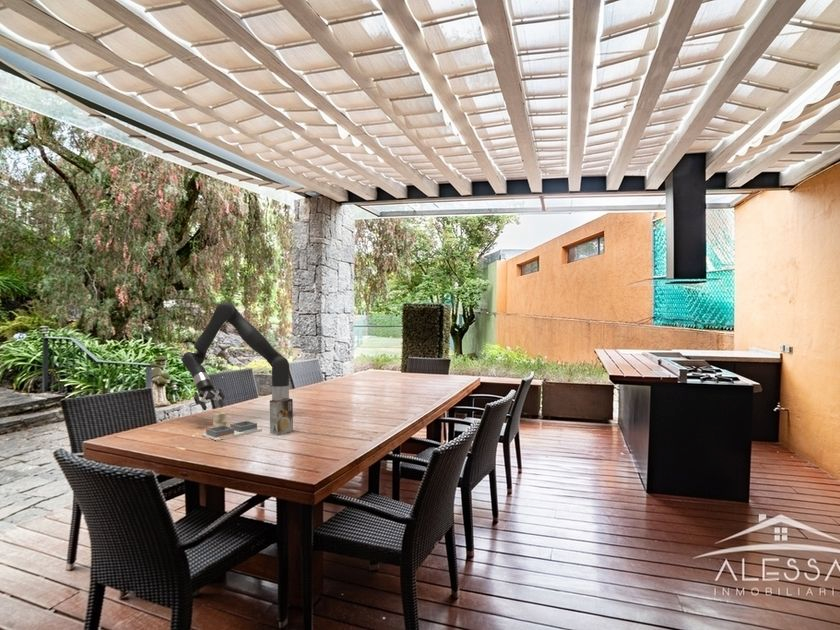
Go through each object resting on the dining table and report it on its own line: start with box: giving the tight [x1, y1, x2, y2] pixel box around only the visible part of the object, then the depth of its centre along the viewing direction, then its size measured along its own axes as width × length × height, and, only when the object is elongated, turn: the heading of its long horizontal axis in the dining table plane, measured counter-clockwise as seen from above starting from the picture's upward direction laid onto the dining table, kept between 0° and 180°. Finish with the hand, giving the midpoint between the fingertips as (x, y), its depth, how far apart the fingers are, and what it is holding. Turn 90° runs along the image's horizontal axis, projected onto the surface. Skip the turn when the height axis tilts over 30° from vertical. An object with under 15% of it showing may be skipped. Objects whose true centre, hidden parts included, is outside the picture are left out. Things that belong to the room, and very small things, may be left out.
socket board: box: [201, 420, 262, 441], centre depth 218 cm, size 23×14×4 cm, turn 142°
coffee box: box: [269, 397, 294, 436], centre depth 220 cm, size 9×6×16 cm
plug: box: [212, 411, 227, 428], centre depth 226 cm, size 4×4×8 cm
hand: (214, 407), depth 229 cm, fingers open, 8 cm apart
